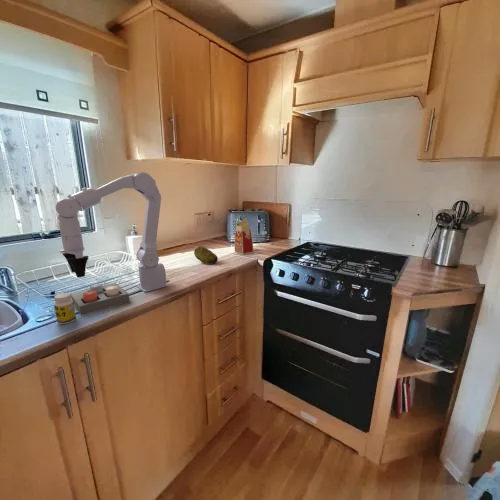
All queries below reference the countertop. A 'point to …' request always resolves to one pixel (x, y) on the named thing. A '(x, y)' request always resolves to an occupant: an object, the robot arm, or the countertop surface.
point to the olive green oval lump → (205, 255)
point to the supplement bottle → (64, 308)
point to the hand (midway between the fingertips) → (78, 274)
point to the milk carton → (243, 238)
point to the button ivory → (112, 291)
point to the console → (99, 300)
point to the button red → (90, 296)
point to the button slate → (97, 288)
